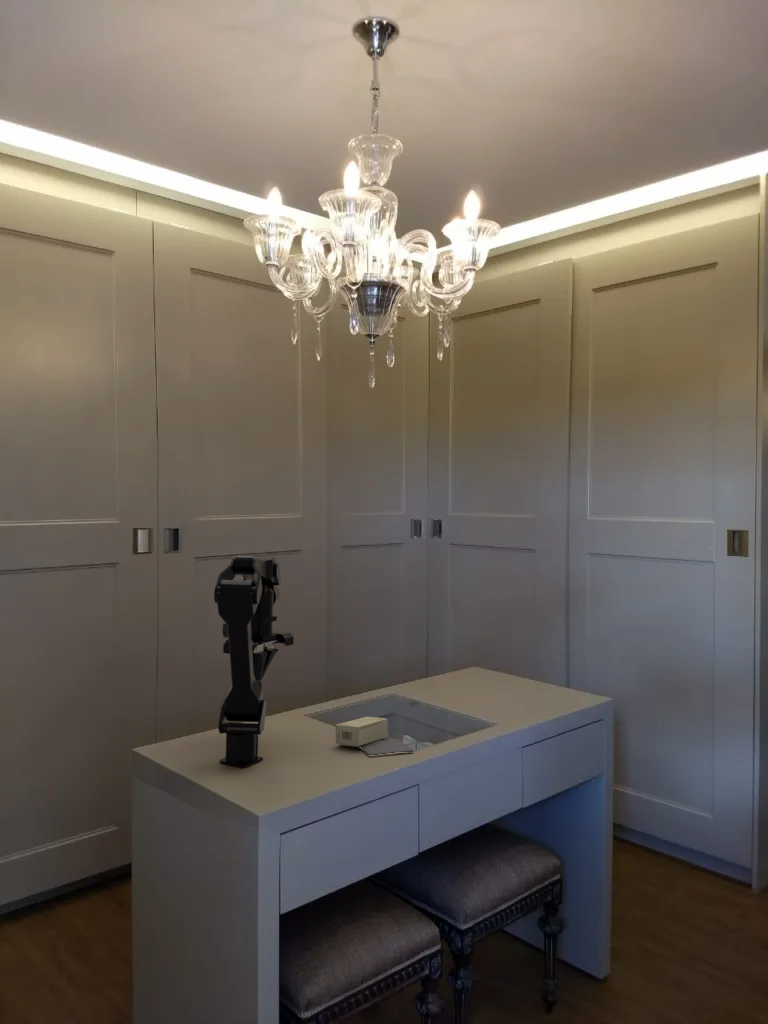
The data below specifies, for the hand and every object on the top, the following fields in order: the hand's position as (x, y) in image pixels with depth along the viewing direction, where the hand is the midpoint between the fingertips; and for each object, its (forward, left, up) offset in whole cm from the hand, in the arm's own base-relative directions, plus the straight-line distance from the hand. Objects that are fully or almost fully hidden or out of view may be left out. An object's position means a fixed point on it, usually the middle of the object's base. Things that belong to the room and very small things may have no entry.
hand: (258, 680), depth 175 cm
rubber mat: (+9, -28, -13) cm, 32 cm away
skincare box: (+4, -21, -10) cm, 24 cm away
